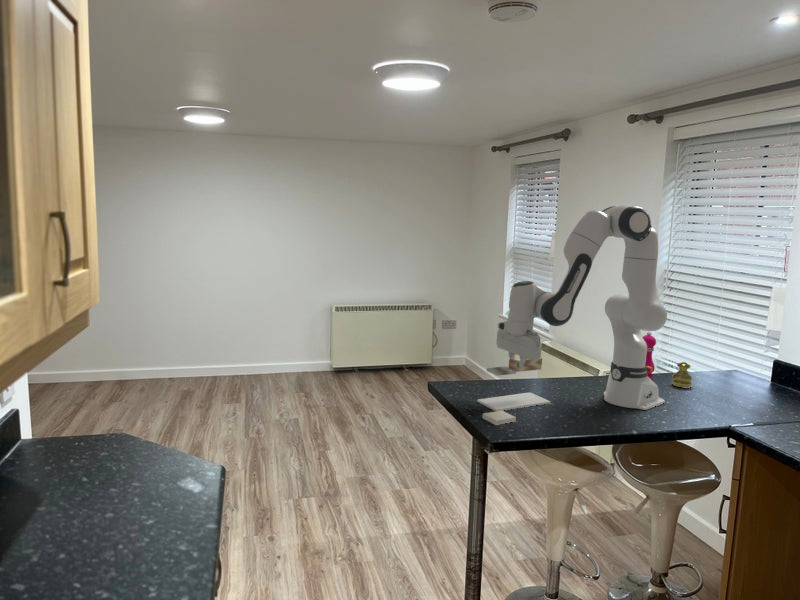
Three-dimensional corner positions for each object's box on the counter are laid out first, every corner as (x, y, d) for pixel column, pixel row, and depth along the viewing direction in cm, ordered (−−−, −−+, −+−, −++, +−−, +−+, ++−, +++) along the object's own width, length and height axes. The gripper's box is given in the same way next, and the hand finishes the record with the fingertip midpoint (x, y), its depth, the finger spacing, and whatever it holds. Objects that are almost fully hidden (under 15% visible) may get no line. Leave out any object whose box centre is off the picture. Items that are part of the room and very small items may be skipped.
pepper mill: (655, 381, 245) (660, 334, 242) (636, 379, 246) (642, 332, 243) (651, 376, 252) (656, 330, 249) (633, 374, 254) (638, 329, 250)
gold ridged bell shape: (667, 383, 243) (670, 359, 241) (684, 383, 244) (687, 360, 242) (677, 389, 236) (680, 364, 234) (695, 389, 236) (698, 365, 235)
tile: (502, 410, 195) (482, 413, 191) (516, 417, 189) (496, 420, 185) (501, 416, 196) (482, 419, 192) (515, 423, 190) (496, 426, 186)
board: (529, 394, 219) (530, 392, 219) (550, 403, 209) (550, 401, 209) (477, 401, 208) (477, 399, 207) (496, 411, 198) (496, 409, 198)
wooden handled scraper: (533, 366, 214) (534, 355, 214) (544, 370, 209) (545, 359, 208) (486, 370, 204) (487, 359, 204) (497, 375, 199) (498, 364, 198)
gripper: (547, 333, 197) (543, 373, 199) (508, 321, 214) (505, 358, 217) (532, 334, 194) (529, 375, 196) (494, 322, 211) (491, 359, 214)
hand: (516, 366), depth 206 cm, fingers closed on wooden handled scraper, 2 cm apart
